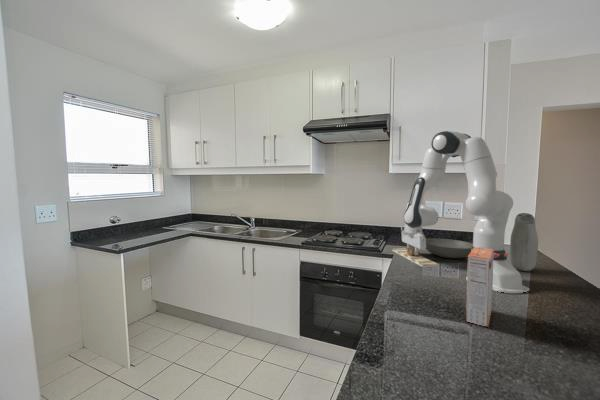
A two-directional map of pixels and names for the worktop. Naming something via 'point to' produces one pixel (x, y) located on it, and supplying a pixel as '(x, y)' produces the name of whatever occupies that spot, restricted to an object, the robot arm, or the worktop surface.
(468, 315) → the cracker box
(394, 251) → the mat
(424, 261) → the board
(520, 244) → the grey green vase
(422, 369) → the worktop surface
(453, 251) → the bowl
